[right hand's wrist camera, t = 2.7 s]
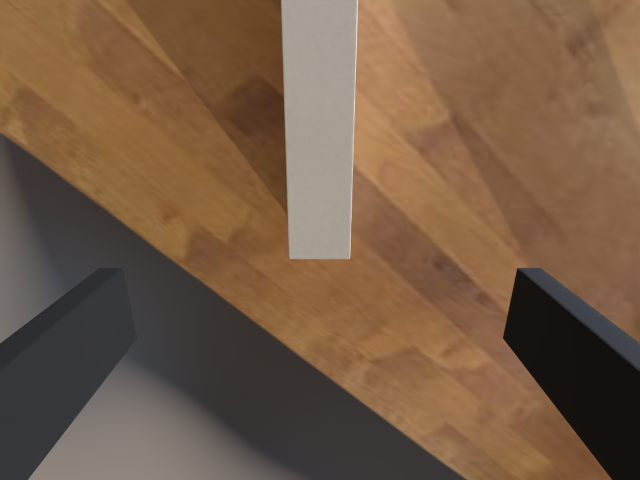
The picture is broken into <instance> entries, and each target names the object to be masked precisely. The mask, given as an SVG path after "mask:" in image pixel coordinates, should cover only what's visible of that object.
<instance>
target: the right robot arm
mask: <svg viewBox="0 0 640 480" xmlns="http://www.w3.org/2000/svg"><path fill="white" fill-rule="evenodd" d="M136 339H137V336H136V331H135V326H134V321H133V316H132V311H131V307H130V302H129V297H128V292H127V287H126V282H125V277H124V273H123V268H99V269H98V270H97V271H95V272H94V273H93V274H91V275H90V276H89V277H87V278H86V279H85V280H83V281H82V282H81V283H79V284H78V285H77V286H76V287H74V288H73V289H72V290H70V291H69V292H68V293H66V294H65V295H64V296H62V297H61V298H60V299H58V300H57V301H56V302H54V303H53V304H52V305H50V306H49V307H48V308H47V309H45V310H44V311H43V312H41V313H40V314H39V315H37V316H36V317H35V318H33V319H32V320H31V321H29V322H28V323H27V324H25V325H24V326H23V327H22V328H20V329H19V330H18V331H16V332H15V333H14V334H12V335H11V336H10V337H8V338H7V339H6V340H4V341H3V342H2V343H0V480H28V479H29V477H30V476H31V475H32V474H33V472H34V471H35V470H36V468H37V467H38V466H39V465H40V463H41V462H42V461H43V459H44V458H45V457H46V455H47V454H48V453H49V452H50V450H51V449H52V448H53V446H54V445H55V444H56V442H57V441H58V440H59V439H60V437H61V436H62V435H63V433H64V432H65V431H66V430H67V428H68V427H69V426H70V424H71V423H72V422H73V420H74V419H75V418H76V416H77V415H78V414H79V413H80V411H81V410H82V409H83V407H84V406H85V405H86V403H87V402H88V401H89V400H90V398H91V397H92V396H93V394H94V393H95V392H96V391H97V389H98V388H99V387H100V385H101V384H102V383H103V382H104V380H105V379H106V378H107V376H108V375H109V374H110V372H111V371H112V370H113V369H114V367H115V366H116V365H117V363H118V362H119V361H120V360H121V358H122V357H123V356H124V354H125V353H126V352H127V350H128V349H129V348H130V347H131V345H132V344H133V343H134V341H135V340H136ZM503 339H504V340H505V341H506V343H507V344H508V345H509V347H510V348H511V349H512V350H513V352H514V353H515V354H516V356H517V357H518V358H519V360H520V361H521V362H522V363H523V365H524V366H525V367H526V369H527V370H528V371H529V372H530V374H531V375H532V376H533V378H534V379H535V380H536V382H537V383H538V384H539V385H540V387H541V388H542V389H543V391H544V392H545V393H546V395H547V396H548V397H549V398H550V400H551V401H552V402H553V404H554V405H555V406H556V407H557V409H558V410H559V411H560V413H561V414H562V415H563V417H564V418H565V419H566V420H567V422H568V423H569V424H570V426H571V427H572V428H573V430H574V431H575V432H576V433H577V435H578V436H579V437H580V439H581V440H582V441H583V442H584V444H585V445H586V446H587V448H588V449H589V450H590V452H591V453H592V454H593V455H594V457H595V458H596V459H597V461H598V462H599V463H600V465H601V466H602V467H603V468H604V470H605V471H606V472H607V474H608V475H609V476H610V477H611V479H612V480H640V343H638V342H637V341H636V340H634V339H633V338H632V337H630V336H629V335H628V334H626V333H625V332H624V331H622V330H621V329H620V328H619V327H617V326H616V325H615V324H613V323H612V322H611V321H609V320H608V319H607V318H605V317H604V316H603V315H601V314H600V313H599V312H597V311H596V310H595V309H593V308H592V307H591V306H590V305H588V304H587V303H586V302H584V301H583V300H582V299H580V298H579V297H578V296H576V295H575V294H574V293H572V292H571V291H570V290H568V289H567V288H566V287H564V286H563V285H562V284H561V283H559V282H558V281H557V280H555V279H554V278H553V277H551V276H550V275H549V274H547V273H546V272H545V271H543V270H542V269H541V268H517V272H516V277H515V282H514V287H513V292H512V297H511V302H510V307H509V311H508V316H507V321H506V326H505V331H504V336H503Z"/></svg>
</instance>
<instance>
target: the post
mask: <svg viewBox="0 0 640 480" xmlns="http://www.w3.org/2000/svg"><path fill="white" fill-rule="evenodd" d="M357 13H358V0H281V22H282V53H283V85H284V116H285V147H286V179H287V210H288V242H289V259H350V241H351V208H352V176H353V143H354V111H355V78H356V46H357Z"/></svg>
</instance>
